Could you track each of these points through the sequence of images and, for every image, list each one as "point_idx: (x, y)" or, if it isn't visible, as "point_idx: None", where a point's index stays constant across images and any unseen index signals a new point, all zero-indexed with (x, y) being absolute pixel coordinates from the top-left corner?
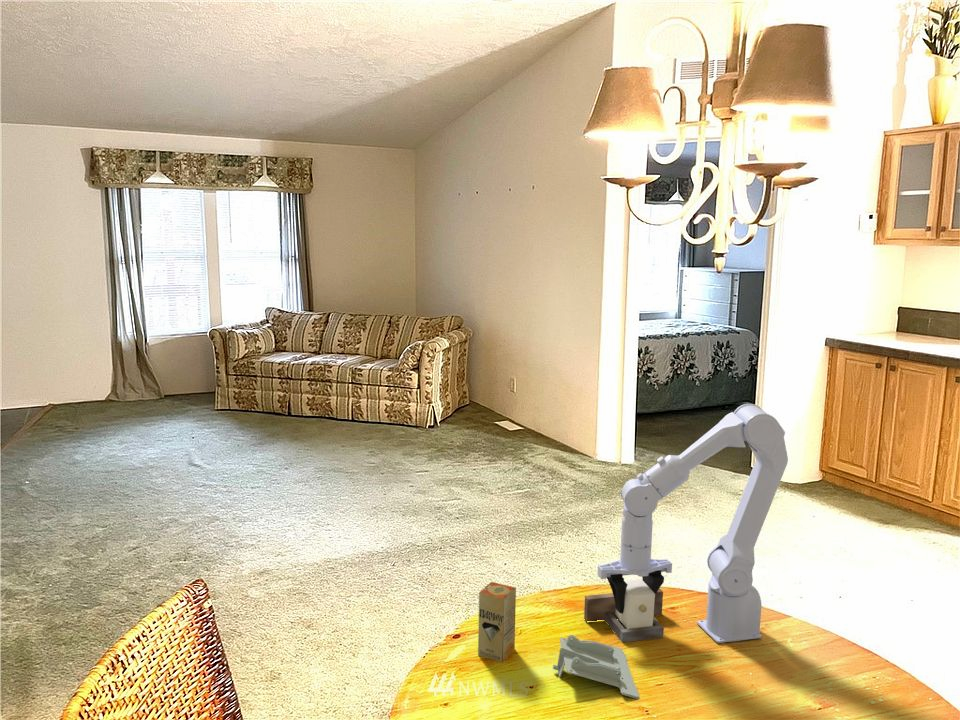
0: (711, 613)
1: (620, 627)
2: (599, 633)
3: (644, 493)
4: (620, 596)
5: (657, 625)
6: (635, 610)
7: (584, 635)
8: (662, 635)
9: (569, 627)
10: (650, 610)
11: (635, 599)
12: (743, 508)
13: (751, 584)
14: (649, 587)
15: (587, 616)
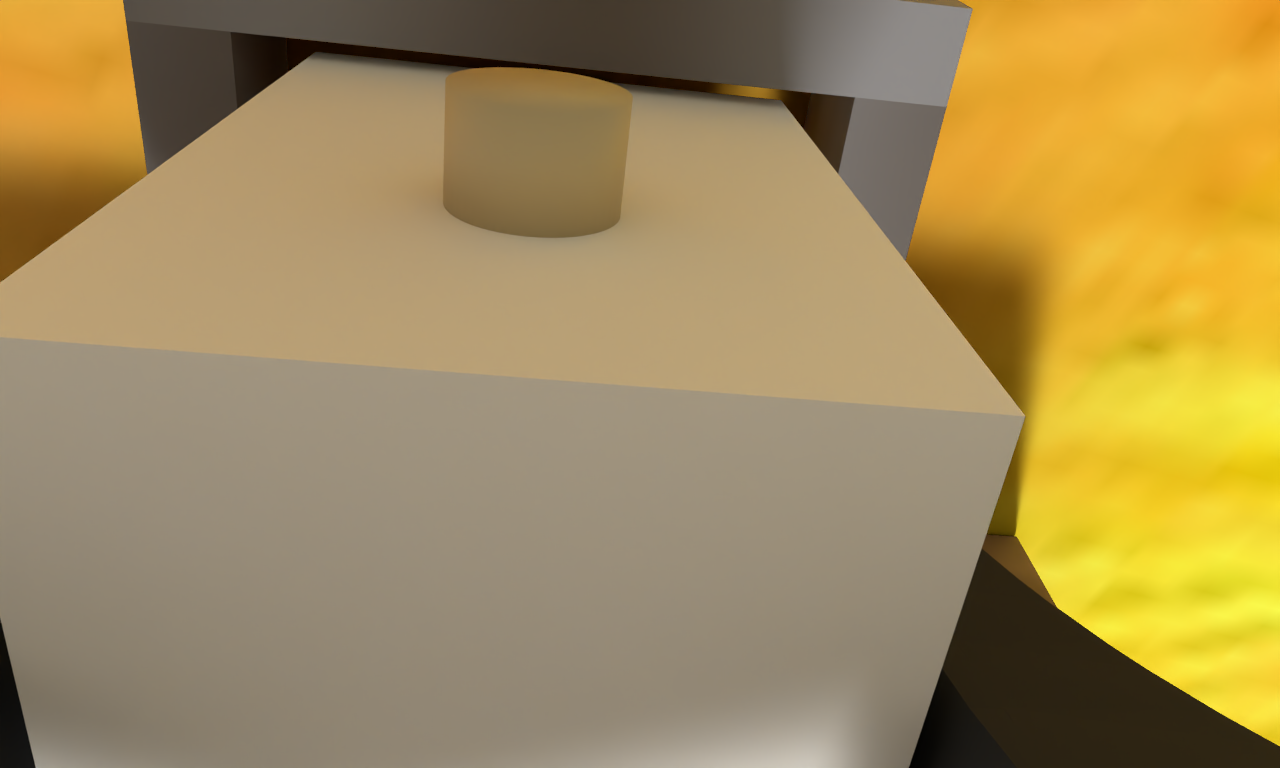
0: None
1: (892, 176)
2: (1037, 302)
3: None
4: (1028, 615)
5: (209, 31)
6: (706, 203)
7: (1244, 314)
8: None
9: (1256, 513)
10: (289, 152)
11: (781, 335)
12: None
13: None
14: (15, 751)
15: (1044, 596)
